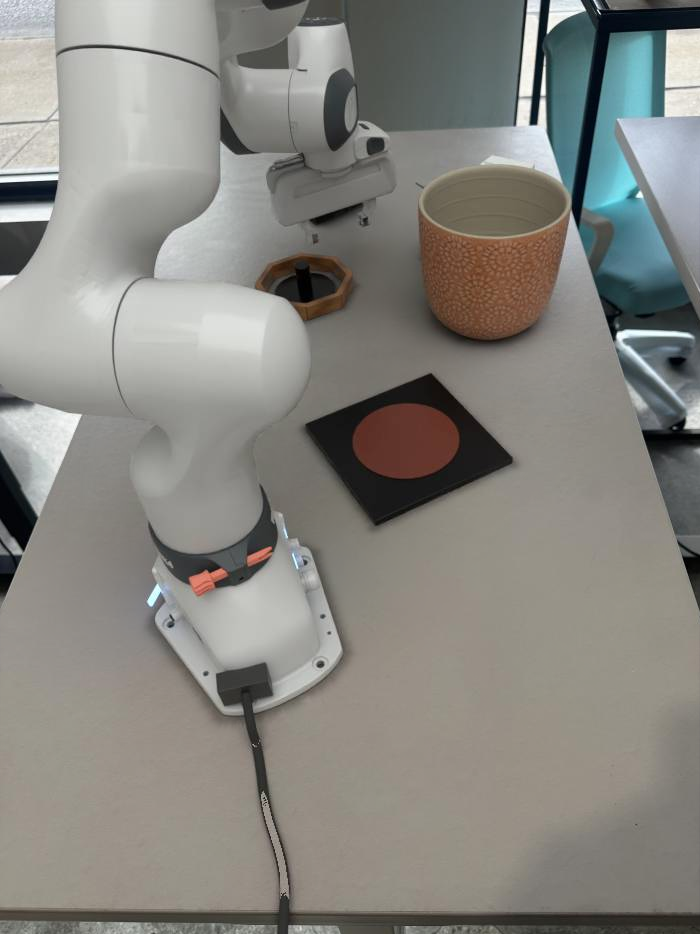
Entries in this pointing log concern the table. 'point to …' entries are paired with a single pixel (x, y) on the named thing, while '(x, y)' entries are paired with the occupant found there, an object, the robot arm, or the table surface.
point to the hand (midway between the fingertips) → (338, 233)
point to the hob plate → (406, 447)
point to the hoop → (315, 263)
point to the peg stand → (305, 285)
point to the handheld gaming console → (332, 214)
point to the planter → (492, 247)
